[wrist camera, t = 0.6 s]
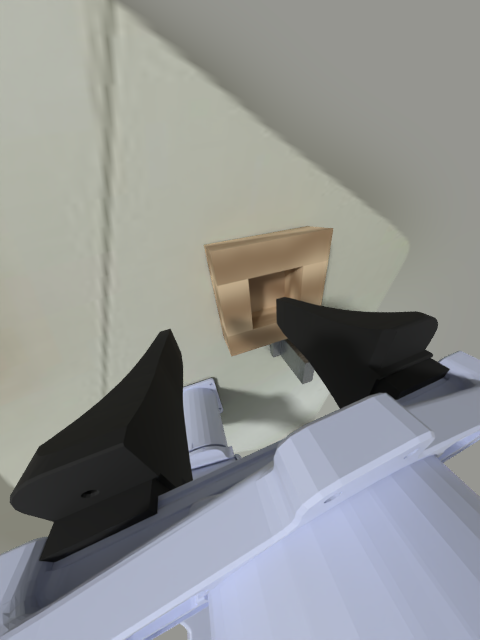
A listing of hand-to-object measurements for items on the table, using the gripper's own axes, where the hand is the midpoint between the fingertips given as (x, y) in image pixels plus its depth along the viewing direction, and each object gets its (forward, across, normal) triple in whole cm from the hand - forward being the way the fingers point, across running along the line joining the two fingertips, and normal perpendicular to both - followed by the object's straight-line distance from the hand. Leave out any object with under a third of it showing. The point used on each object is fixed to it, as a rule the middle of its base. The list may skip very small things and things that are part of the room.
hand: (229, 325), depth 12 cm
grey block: (+10, -9, +12) cm, 18 cm away
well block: (+10, -6, +2) cm, 12 cm away
